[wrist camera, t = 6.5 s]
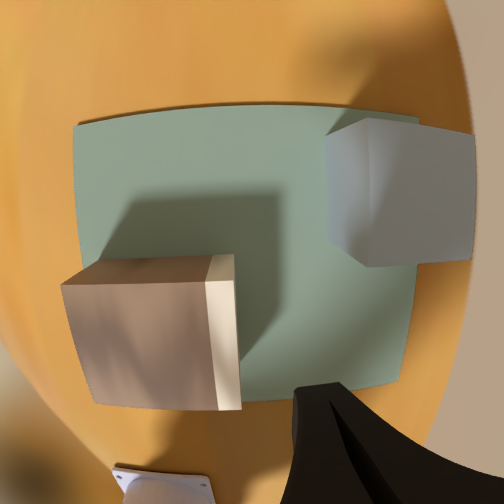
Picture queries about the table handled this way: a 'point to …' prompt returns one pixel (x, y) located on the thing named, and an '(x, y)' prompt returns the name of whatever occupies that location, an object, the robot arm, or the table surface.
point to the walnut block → (158, 332)
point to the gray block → (401, 193)
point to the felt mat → (249, 234)
